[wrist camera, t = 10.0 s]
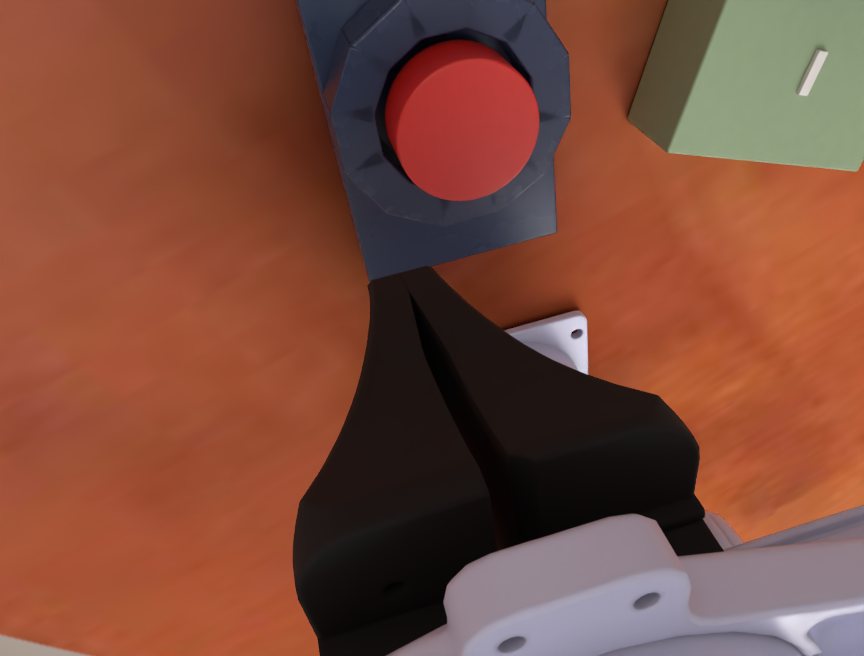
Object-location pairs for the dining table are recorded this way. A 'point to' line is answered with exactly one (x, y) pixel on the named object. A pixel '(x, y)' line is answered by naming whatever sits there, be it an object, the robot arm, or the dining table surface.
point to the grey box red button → (372, 150)
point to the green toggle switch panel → (757, 82)
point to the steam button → (461, 120)
